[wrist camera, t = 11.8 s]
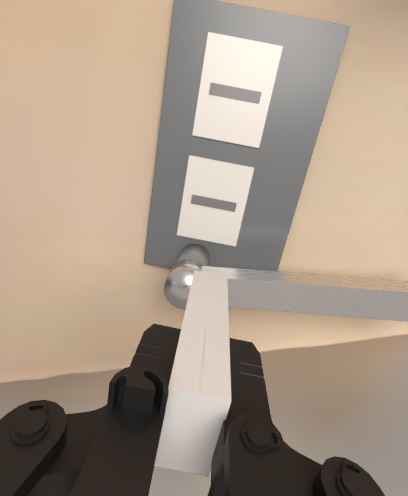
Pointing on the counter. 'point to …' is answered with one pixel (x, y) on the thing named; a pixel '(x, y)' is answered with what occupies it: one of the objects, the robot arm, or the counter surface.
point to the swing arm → (297, 292)
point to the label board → (237, 131)
